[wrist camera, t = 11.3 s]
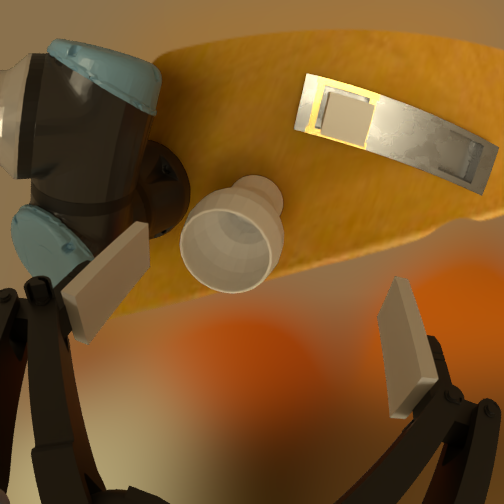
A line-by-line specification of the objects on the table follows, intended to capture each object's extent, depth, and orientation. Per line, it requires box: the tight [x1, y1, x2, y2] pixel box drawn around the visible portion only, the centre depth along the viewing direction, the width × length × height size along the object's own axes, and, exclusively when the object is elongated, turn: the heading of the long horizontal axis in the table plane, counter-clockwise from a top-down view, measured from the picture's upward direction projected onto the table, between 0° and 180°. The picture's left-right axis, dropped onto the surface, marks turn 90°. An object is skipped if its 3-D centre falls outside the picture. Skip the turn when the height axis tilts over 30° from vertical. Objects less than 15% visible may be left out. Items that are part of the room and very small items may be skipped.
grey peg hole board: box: [294, 73, 499, 195], centre depth 34 cm, size 26×7×3 cm, turn 79°
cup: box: [180, 175, 284, 293], centre depth 38 cm, size 11×11×15 cm
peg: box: [320, 92, 375, 147], centre depth 30 cm, size 4×4×12 cm
